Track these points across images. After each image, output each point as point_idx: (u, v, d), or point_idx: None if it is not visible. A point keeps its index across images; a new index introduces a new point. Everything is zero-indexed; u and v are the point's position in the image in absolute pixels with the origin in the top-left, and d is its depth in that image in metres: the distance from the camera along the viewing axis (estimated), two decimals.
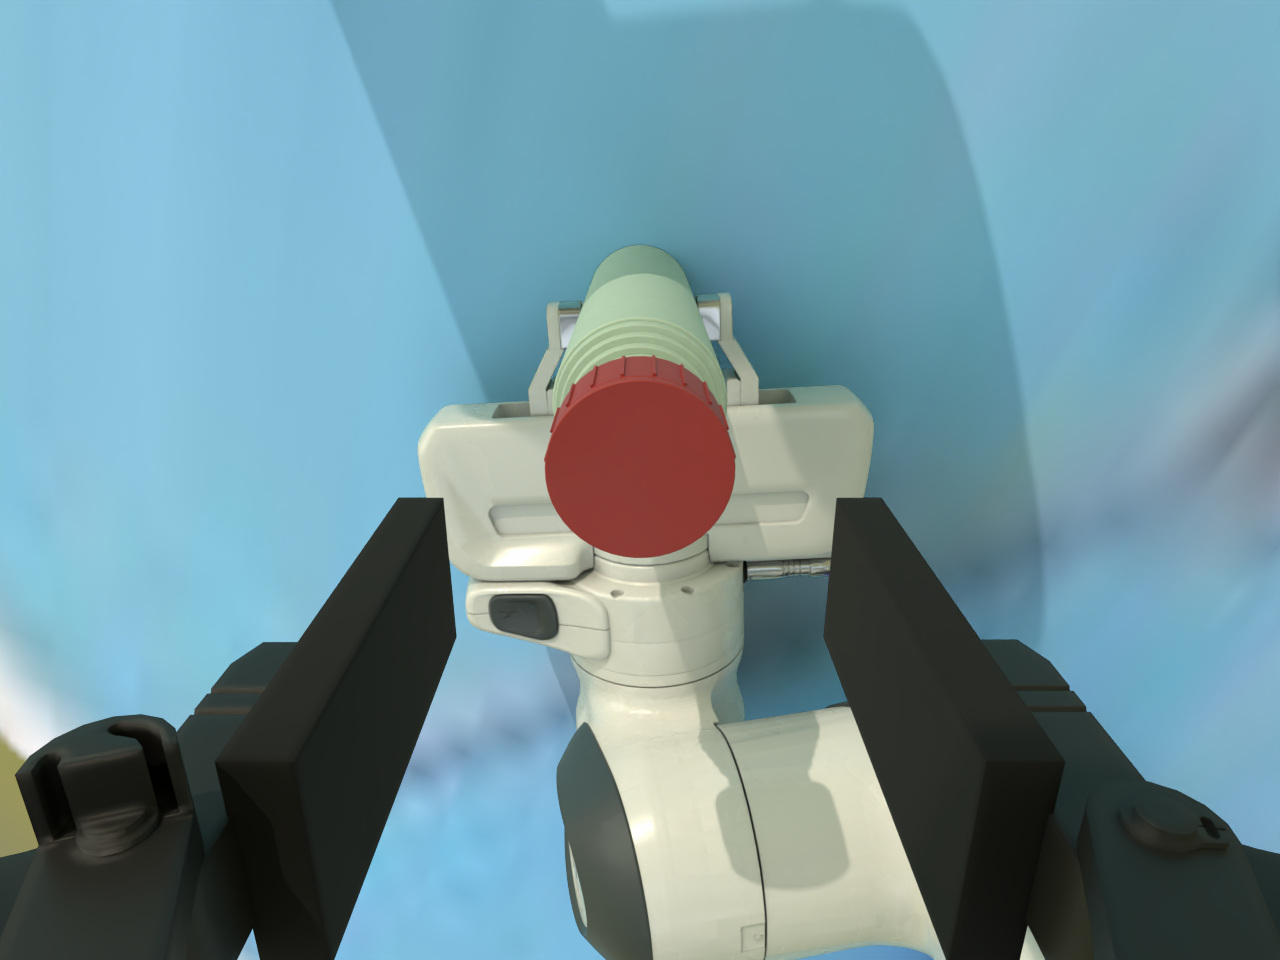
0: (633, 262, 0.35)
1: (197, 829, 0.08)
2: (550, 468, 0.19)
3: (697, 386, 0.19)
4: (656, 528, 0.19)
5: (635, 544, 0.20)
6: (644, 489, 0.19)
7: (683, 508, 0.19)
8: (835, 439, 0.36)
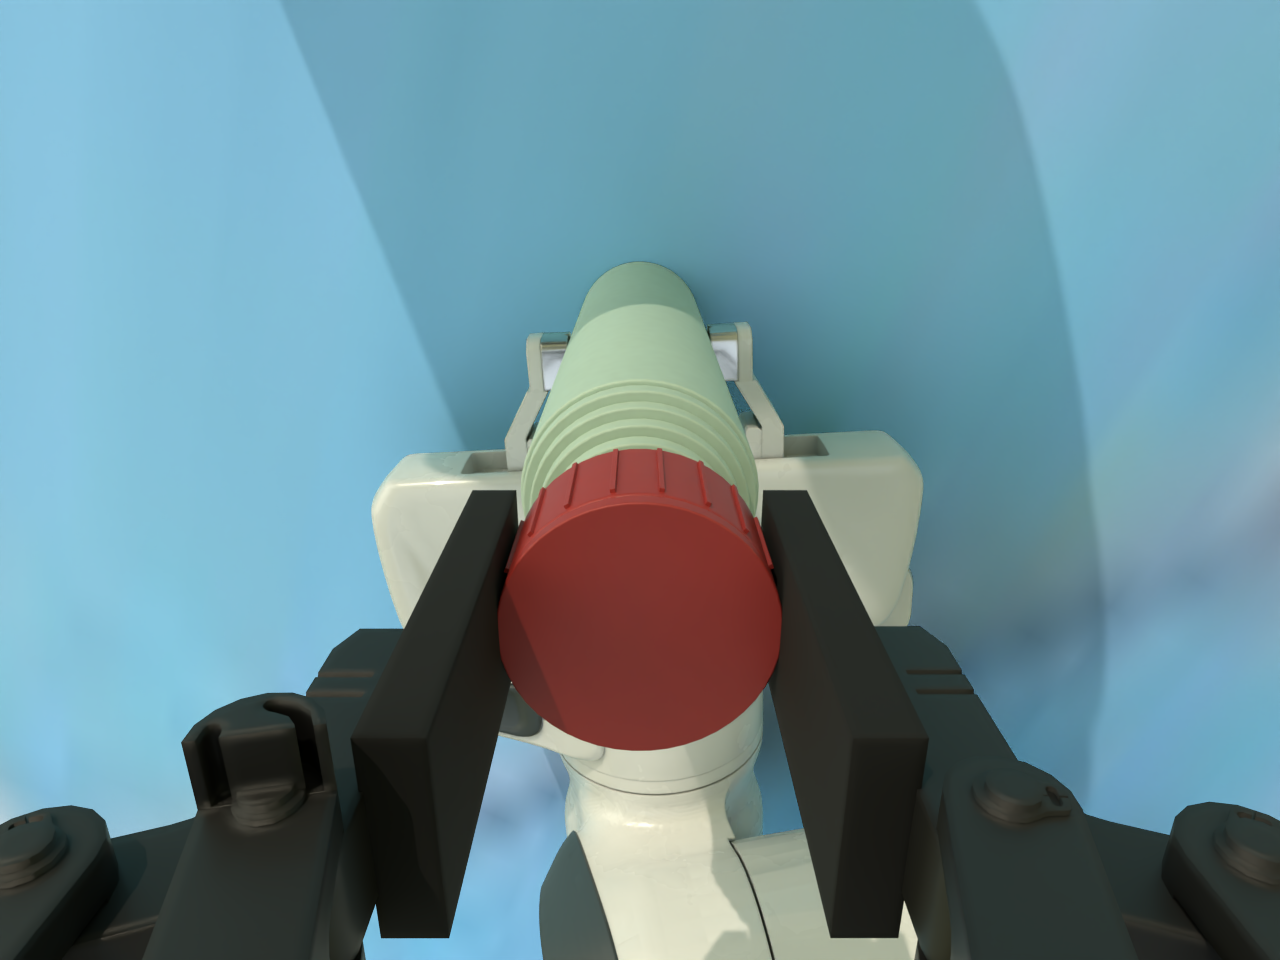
0: (632, 286, 0.28)
1: (339, 808, 0.08)
2: (504, 628, 0.12)
3: (725, 500, 0.13)
4: (664, 711, 0.13)
5: (633, 732, 0.13)
6: (646, 657, 0.13)
7: (704, 684, 0.13)
8: (876, 500, 0.30)
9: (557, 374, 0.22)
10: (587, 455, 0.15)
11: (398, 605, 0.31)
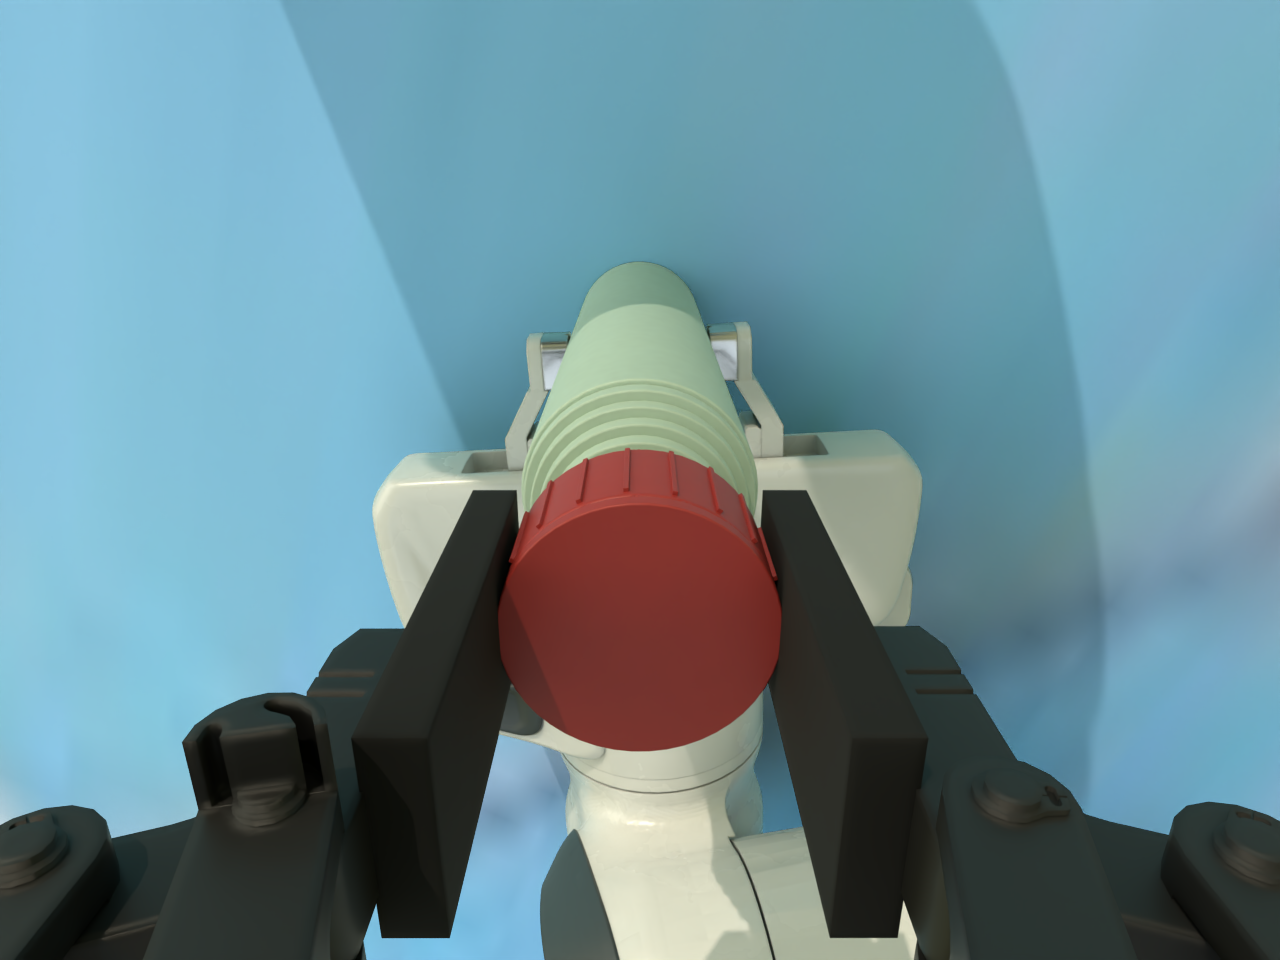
0: (631, 286, 0.28)
1: (340, 807, 0.08)
2: (631, 745, 0.13)
3: (532, 522, 0.13)
4: (732, 614, 0.12)
5: (758, 642, 0.13)
6: (666, 630, 0.12)
7: (700, 576, 0.12)
8: (876, 499, 0.30)
9: (557, 374, 0.22)
10: (587, 454, 0.15)
11: (399, 604, 0.31)
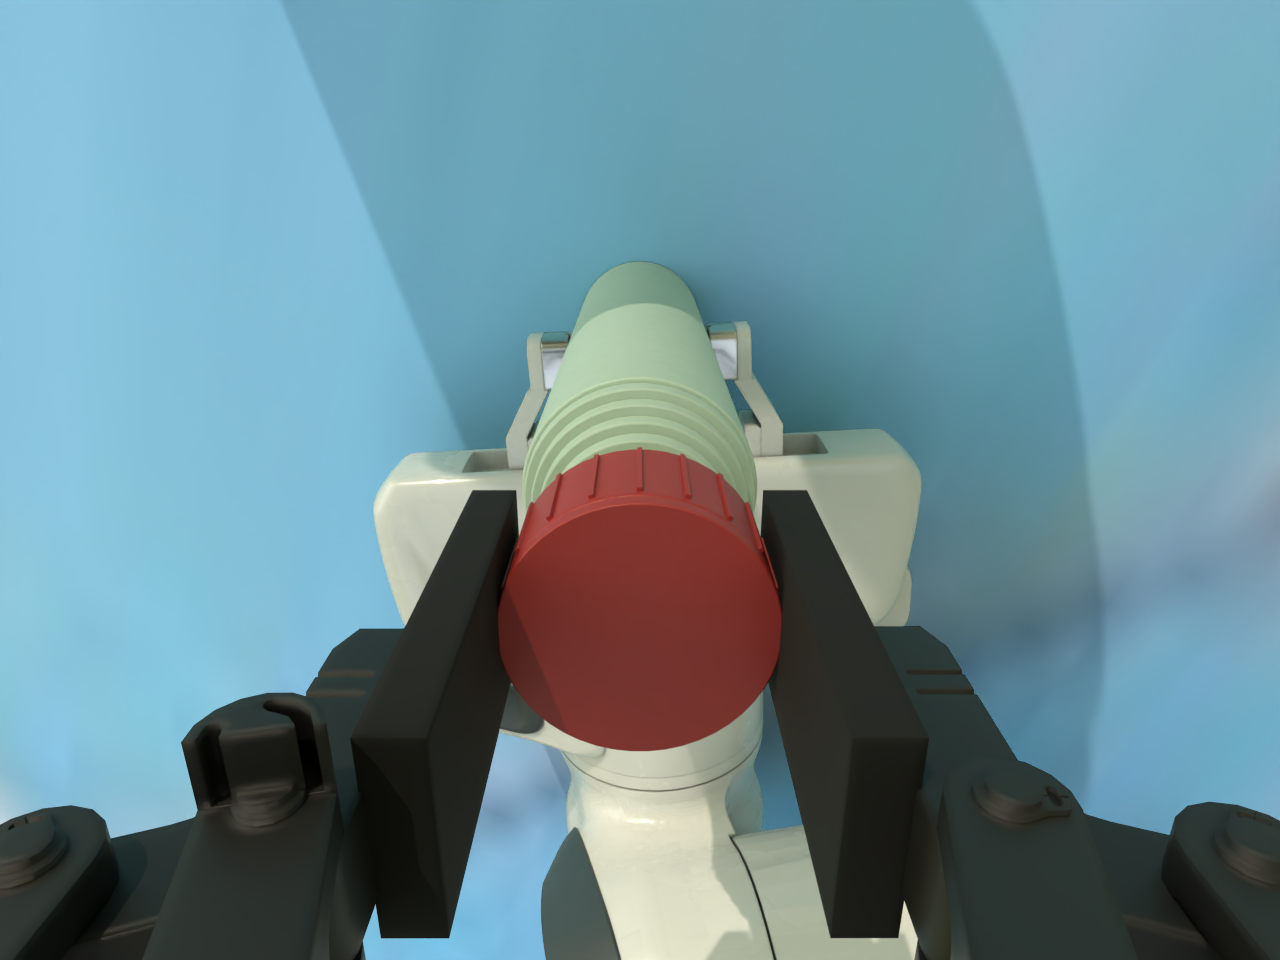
0: (631, 286, 0.28)
1: (339, 808, 0.08)
2: (773, 643, 0.13)
3: None
4: (614, 552, 0.12)
5: (649, 526, 0.12)
6: (633, 612, 0.12)
7: (572, 583, 0.12)
8: (875, 497, 0.30)
9: (558, 373, 0.23)
10: (587, 452, 0.16)
11: (400, 603, 0.31)
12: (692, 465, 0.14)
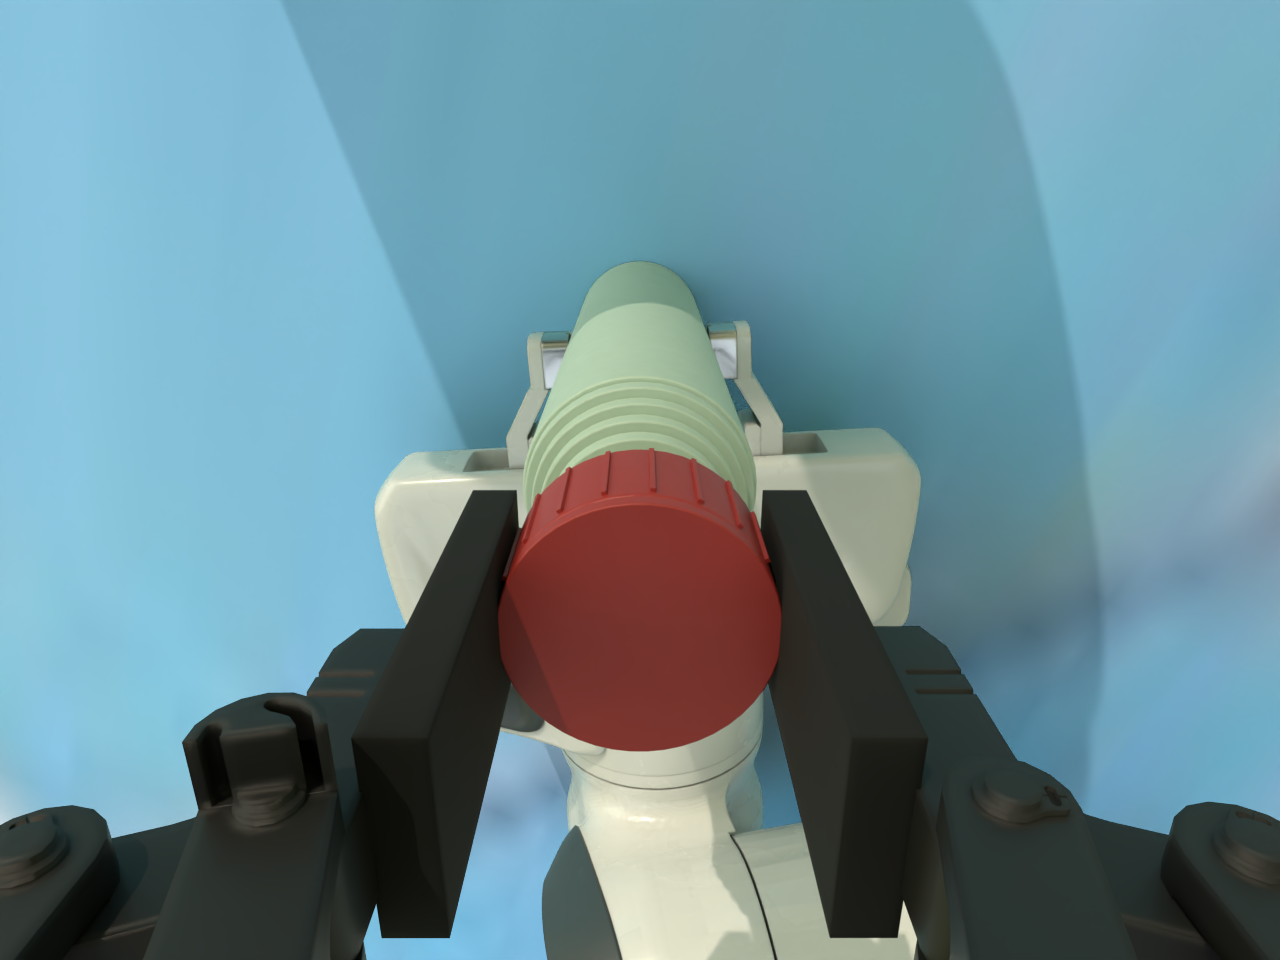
0: (631, 286, 0.29)
1: (340, 808, 0.08)
2: (651, 512, 0.12)
3: None
4: (548, 655, 0.13)
5: (520, 627, 0.12)
6: (613, 641, 0.13)
7: (581, 690, 0.13)
8: (875, 496, 0.30)
9: (558, 372, 0.23)
10: (588, 450, 0.16)
11: (402, 602, 0.31)
12: (525, 523, 0.14)
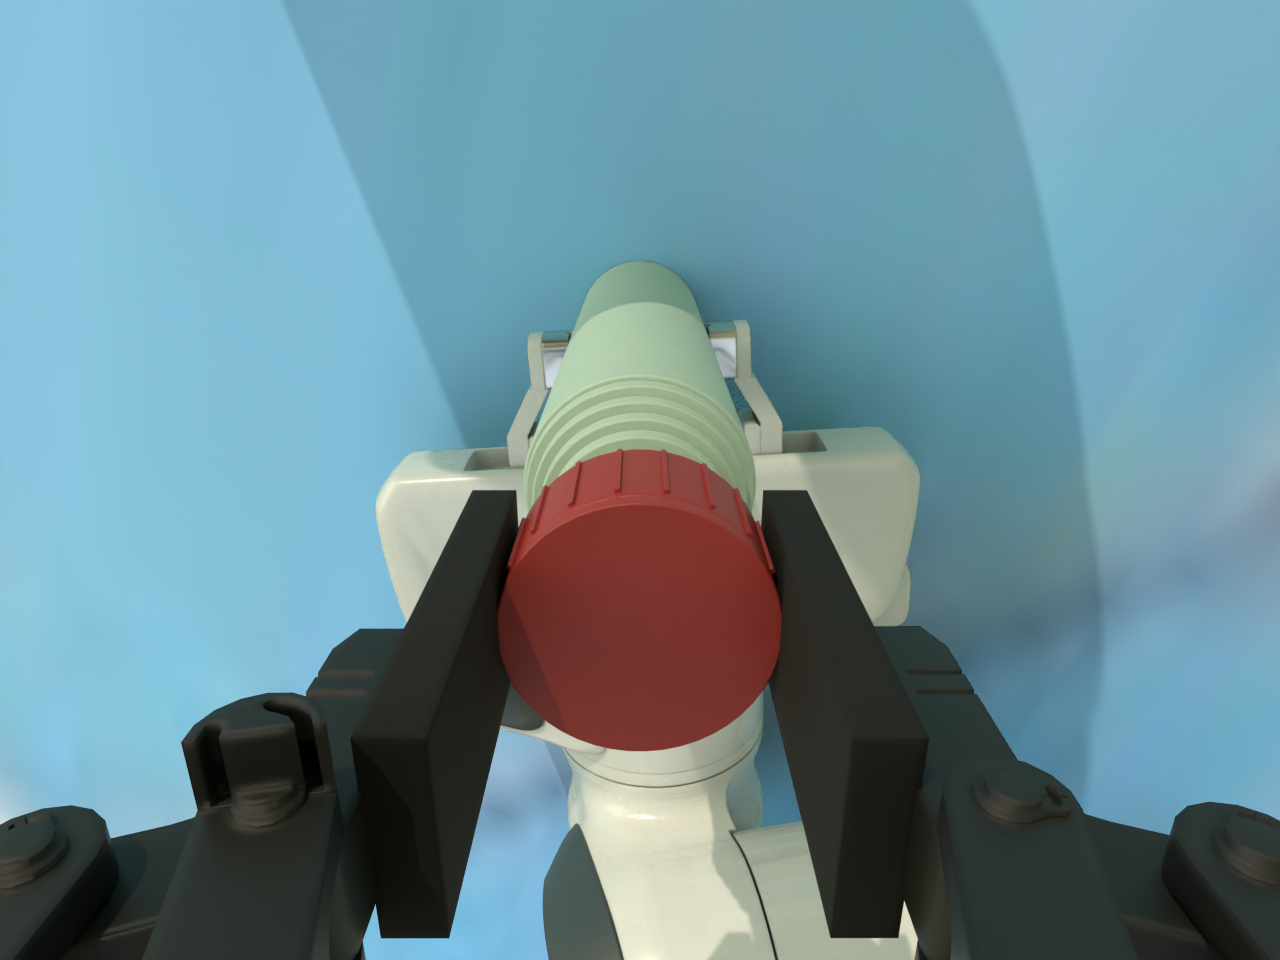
0: (631, 285, 0.29)
1: (339, 807, 0.08)
2: (504, 625, 0.12)
3: (728, 503, 0.13)
4: (661, 712, 0.13)
5: (629, 733, 0.13)
6: (645, 658, 0.13)
7: (702, 686, 0.13)
8: (874, 495, 0.30)
9: (558, 371, 0.23)
10: (588, 448, 0.16)
11: (403, 601, 0.31)
12: None
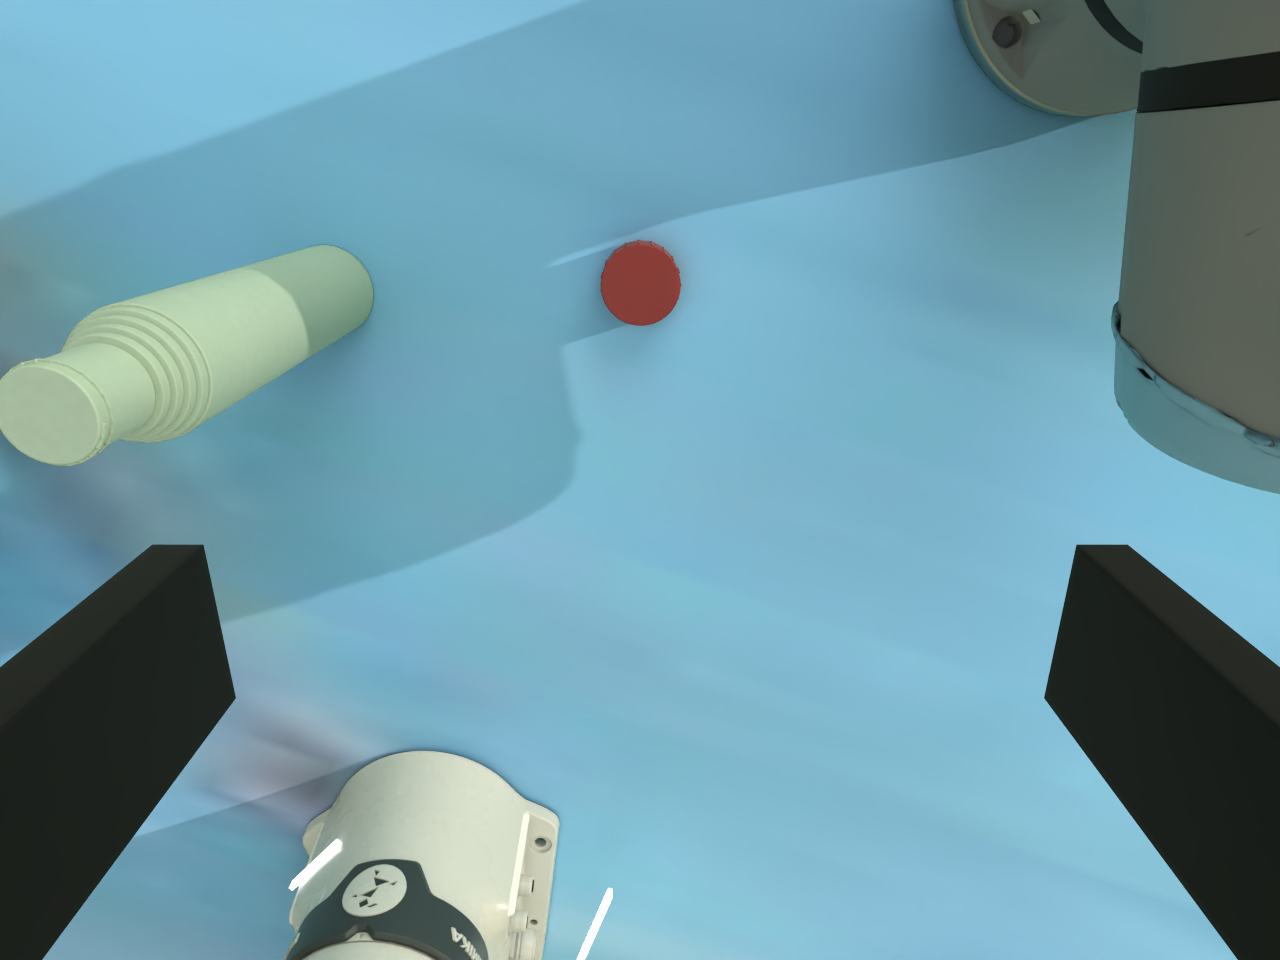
0: (330, 306, 0.41)
1: None
2: (637, 323, 0.46)
3: (610, 257, 0.46)
4: (666, 279, 0.45)
5: (673, 289, 0.45)
6: (648, 284, 0.45)
7: (657, 267, 0.45)
8: None
9: (233, 287, 0.34)
10: (150, 359, 0.28)
11: None
12: None
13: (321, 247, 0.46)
